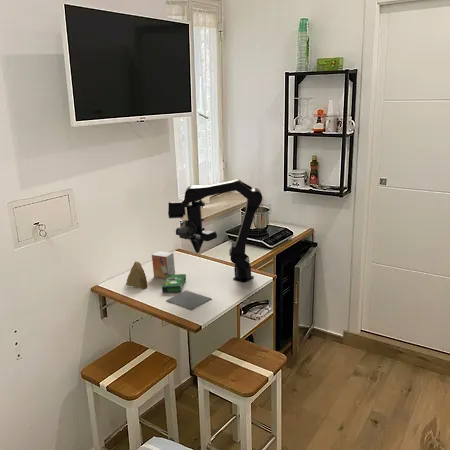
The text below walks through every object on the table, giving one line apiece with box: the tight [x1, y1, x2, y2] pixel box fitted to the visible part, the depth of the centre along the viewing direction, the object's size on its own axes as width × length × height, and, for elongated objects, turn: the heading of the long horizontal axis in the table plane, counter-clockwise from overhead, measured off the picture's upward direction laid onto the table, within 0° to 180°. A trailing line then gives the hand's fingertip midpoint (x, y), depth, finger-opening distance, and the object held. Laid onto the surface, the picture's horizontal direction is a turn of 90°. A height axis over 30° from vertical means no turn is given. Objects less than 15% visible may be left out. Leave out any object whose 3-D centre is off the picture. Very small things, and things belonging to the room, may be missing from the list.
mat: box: [166, 289, 212, 311], centre depth 187 cm, size 14×11×1 cm
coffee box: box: [161, 273, 187, 293], centre depth 200 cm, size 8×3×13 cm
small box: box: [151, 250, 176, 280], centre depth 211 cm, size 8×6×10 cm
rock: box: [125, 261, 148, 290], centre depth 203 cm, size 11×9×10 cm
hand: (197, 252), depth 200 cm, fingers closed
